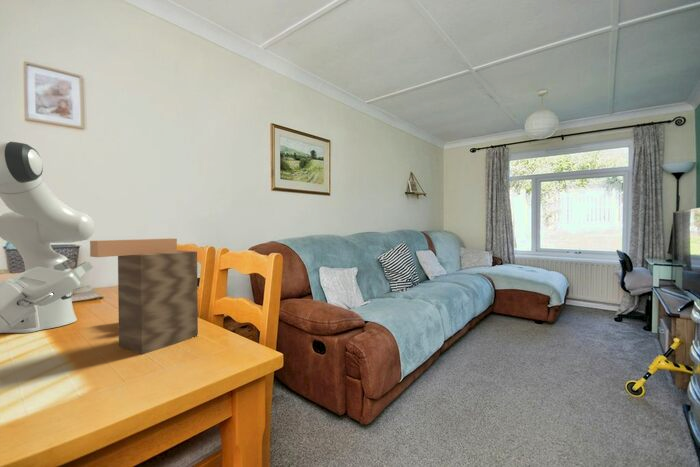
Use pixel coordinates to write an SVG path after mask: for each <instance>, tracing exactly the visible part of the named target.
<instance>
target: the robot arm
mask: <svg viewBox="0 0 700 467" xmlns="http://www.w3.org/2000/svg"><path fill="white" fill-rule="evenodd" d="M43 167H44V166H43V160H42V158H41V156H40V154H39V152H38V150H37V149H35V148H33V147H32V146H31V145H29V144H27V143H23V142H17V141H9V142H5V141H0V199H1V201H2V202H3V203H4V205H5V206H6V207H7V209H9V210H10V212H5V213H1V215H0V238H1V239H2V240H4V241H5V242H7V243H9V244H10V245H11V246H12V247H14V248H15V249H16V250H17V251H18V253H19V255H20V256H21V258H22V260H23V263H24V270H25V271H23V272H20V273H18V274H16V275H14V276H11V277H10V278H7V279H5V280H2V281H0V334H1V333H2V334H3V333H9V334H10V333H11V334H12V333H13V334H15V333H17V334H19V333H20V334H22V333H23V334H24V333H25V334H28V333H33V332H38V331H41V330H48V329H53V328H58V327H63V326H66V325H69V324H72V323H75V322H76V321H78V318H77V316H76V314H75V310H74V306H73V301H72V296H73V292H74V291H75V290H77V289H78V288H79V287H80V286H81V285H82V283H81V282H80V280H79V279H80V278H82V277H83V275H85V274H86V273H87V272H89V271H90V270H92V269H93V264H92V263H91V262H89V261H84V262H81V263H79V265H77V266H76V263H75V261H74V260H72V259H68V257H67V256H65V255H64V254H62V253H58V252H56V251H55V250H54V249H53V247H52V245H51V244H57V243H58V244H59V243H60V244H61V243H63V244H67V243H75V242H82V241H87V240H89V239H90V238H91V237H92V236H93V235H94V232H95V228H96V225H95V222H94V220H93V219H92V217H91V216H90V215H89V214H87V213H85V212H82V211H79V210H77V209H75V208H72V207H71V206H70V205H68V204H66V203H65V202H63V201H62V200H60V199H59V198H58V197H57V196H56V195H55V194H54V193H53V192H52V190H51V189H50V188H49V186H48V184H47V183H46V181H45V179H44V178H43V176H42V174H43V171H44V168H43ZM74 266H76V267H75V268H73V267H74ZM72 268H73V269H72Z"/></svg>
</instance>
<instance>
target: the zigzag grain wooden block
mask: <svg viewBox="0 0 700 467" xmlns="http://www.w3.org/2000/svg"><path fill="white" fill-rule="evenodd" d="M117 281H118V282H117V283H118V284H117V288H118V289H117V291H118V292H117V293H118V295H117V298H118V302H117V303H118V347H121V348H123V349H127V350H129V351H131V352H134V353H137V354H140V355H145V354H148V353H151V352H154V351H157V350H160V349H163V348H166V347H168V346H172V345H176V344H178V343H181V341H182V342H184V341H188V340H191V339H193V338H192V337H194V336H197V335H198V336H199V331H198V329H199V328H198V326H199V323H198V322H199V321H198V318H199V317H198V315H199V313H198V312H199V311H198V302H199V301H198V251H193V250H192V251H191V250H190V251H189V250H178V249H177V252H169V253H154V254H139V255H125V256H117ZM198 336H197V337H198ZM190 338H191V339H190ZM194 338H195V337H194ZM187 339H188V340H187Z"/></svg>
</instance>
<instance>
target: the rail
mask: <svg viewBox="0 0 700 467" xmlns="http://www.w3.org/2000/svg"><path fill="white" fill-rule="evenodd" d="M177 239H178V238H170V237H169V238H143V239H141V238H137V239H135V238H134V239H104V240H102V239H101V240H89V252H90V253H89V254H90V255H89V256H90V257H91V258H92V257H93V258H107V257H118V256H125V255H139V254H154V253H169V252H177V250H178V242H177V241H178V240H177Z"/></svg>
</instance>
